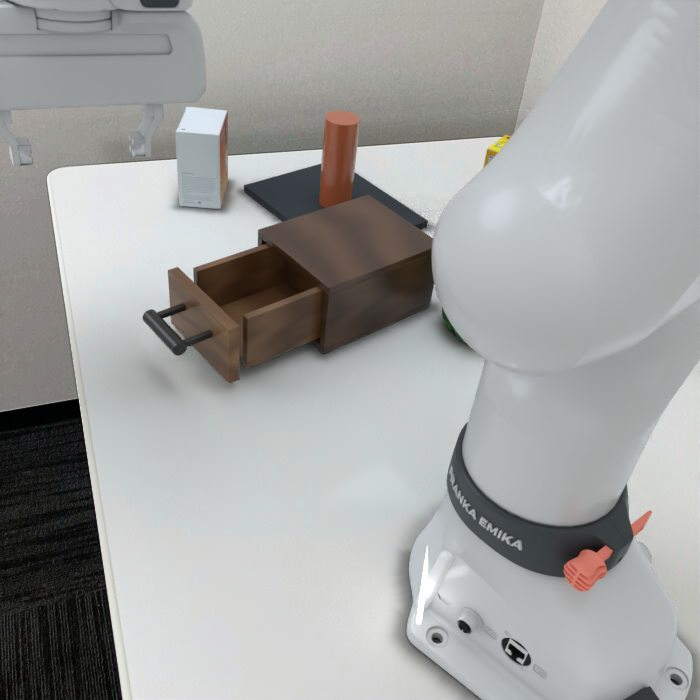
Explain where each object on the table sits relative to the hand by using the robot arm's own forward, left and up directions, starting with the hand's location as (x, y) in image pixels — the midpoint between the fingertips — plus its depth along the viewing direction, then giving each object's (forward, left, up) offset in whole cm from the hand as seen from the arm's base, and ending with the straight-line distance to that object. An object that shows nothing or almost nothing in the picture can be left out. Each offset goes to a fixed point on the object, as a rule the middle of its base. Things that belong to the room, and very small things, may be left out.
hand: (83, 159), depth 64 cm
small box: (+24, -25, -22) cm, 41 cm away
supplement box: (-2, -56, -22) cm, 61 cm away
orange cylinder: (+12, -38, -21) cm, 45 cm away
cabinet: (-5, -26, -22) cm, 35 cm away
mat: (+12, -38, -22) cm, 46 cm away
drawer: (-5, -12, -21) cm, 25 cm away
